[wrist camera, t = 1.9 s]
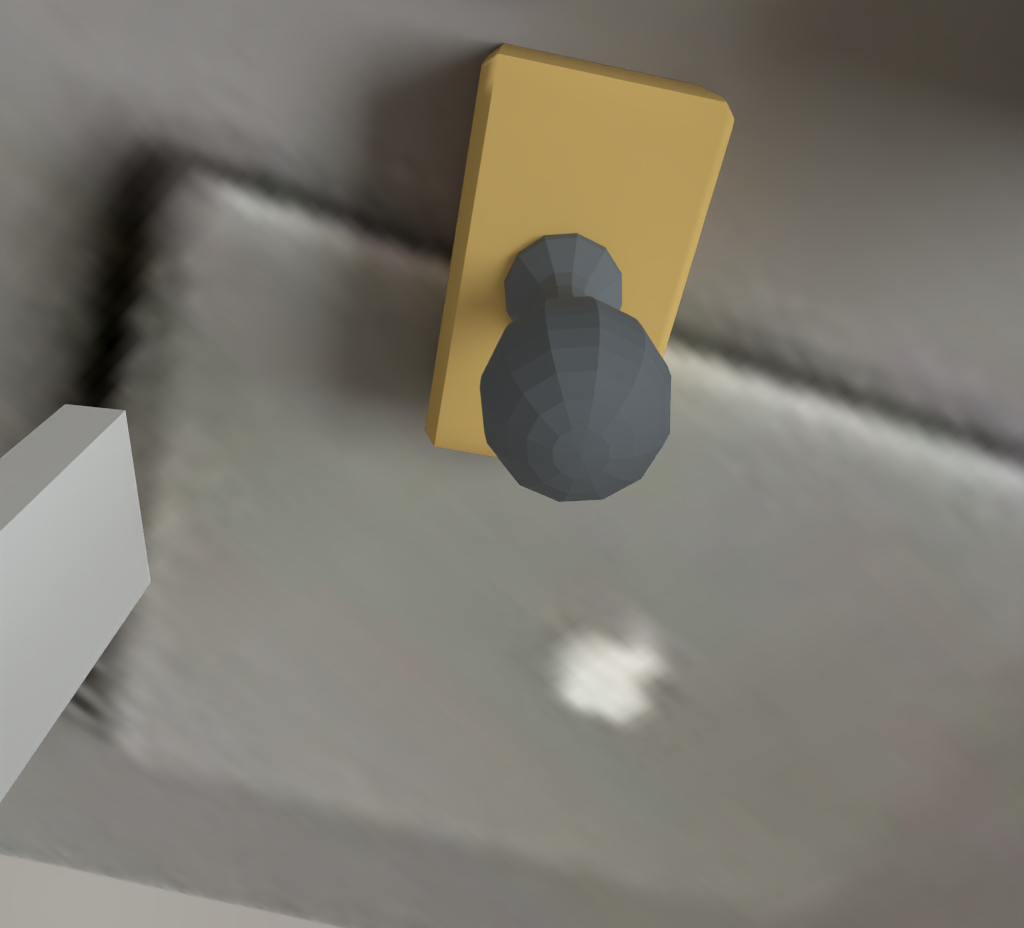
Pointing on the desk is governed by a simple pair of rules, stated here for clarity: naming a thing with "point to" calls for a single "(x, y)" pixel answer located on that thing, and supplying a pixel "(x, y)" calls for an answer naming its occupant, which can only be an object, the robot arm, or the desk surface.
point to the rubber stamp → (572, 268)
